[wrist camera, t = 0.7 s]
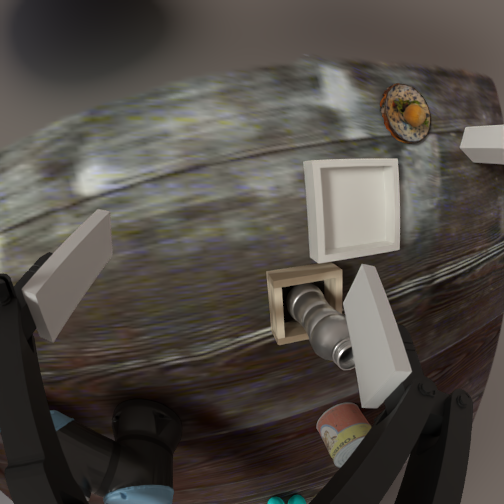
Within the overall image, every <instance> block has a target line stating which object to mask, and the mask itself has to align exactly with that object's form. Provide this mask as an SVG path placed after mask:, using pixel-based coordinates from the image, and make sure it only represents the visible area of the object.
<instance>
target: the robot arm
mask: <svg viewBox="0 0 504 504" xmlns="http://www.w3.org/2000/svg"><path fill="white" fill-rule="evenodd" d="M112 256H113V252H112V238H111V220H110V211H104V210H99V209H98V210H97V211H95V212H94V213H93V214H92V215H91V216H90V217H89V218H88V219H87V220H86V221H85V222H84V223H83V224H82V225H81V226H80V227H79V228H78V229H77V230H76V231H75V232H74V233H73V234H72V235H71V236H70V237H69V238H68V239H67V240H66V241H65V242H64V243H63V244H62V245H61V246H60V247H59V248H58V249H57V250H56V251H55V252H54V253H50V252H49V253H47V254H45V255H43V256H42V257H40V258H39V259H38V260H37V261H36V262H35V263H34V266H32V267H31V268H30V269H29V271H27V272H26V273H25V274H24V275H23V277H22V278H21V279H20V280H19V281H18V282H17V283H16V285H15V286H14V287H13V284H12V281H11V278H10V277H9V276H8V275H7V274H0V430H1V435H2V440H3V444H4V448H5V452H6V456H7V460H8V467H7V468H6V469H5V478H6V482H7V485H8V488H9V491H10V494H11V497H12V500H13V503H14V504H89V503H88V501H89V499H90V495H91V492H92V493H94V494H97V495H99V496H101V497H104V498H103V500H104V504H172V499H173V494H174V490H173V453H174V451H175V449H176V447H177V445H178V443H179V441H180V439H181V435H182V424H181V421H180V419H179V417H178V416H177V415H176V414H175V413H174V412H173V411H172V410H171V409H169V408H168V407H166V406H164V405H162V404H160V403H157V402H154V401H150V400H145V399H133V400H128V401H125V402H123V403H121V404H120V405H118V406H117V407H116V409H115V411H114V414H113V418H112V428H113V433H114V438H115V441H113V440H111V439H109V438H107V437H105V436H103V435H101V434H99V433H97V432H95V431H93V430H91V429H89V428H88V427H86V426H84V425H82V424H80V423H78V422H77V421H75V419H73V418H70V417H68V416H66V415H64V414H62V413H60V412H58V411H56V410H49V406H48V402H47V398H46V394H45V390H44V386H43V382H42V377H41V373H40V368H39V363H38V357H37V352H36V346H35V339H34V336H33V332H34V331H35V329H36V328H37V331H38V333H39V335H40V337H41V338H44V339H46V340H48V341H51V342H54V341H55V339H56V337H57V336H58V334H59V333H60V331H61V329H62V328H63V326H64V325H65V323H66V322H67V320H68V318H69V317H70V315H71V314H72V312H73V311H74V309H75V308H76V306H77V305H78V303H79V302H80V300H81V299H82V297H83V296H84V295H85V293H86V292H87V290H88V289H89V287H90V286H91V284H92V283H93V282H94V280H95V279H96V277H97V276H98V275H99V273H100V272H101V271H102V269H103V268H104V266H105V265H106V264H107V262H108V261H109V260H110V258H111V257H112ZM343 306H344V310H345V315H346V320H347V325H348V330H349V335H350V340H351V345H352V351H353V356H354V362H355V368H356V374H357V380H358V386H359V392H360V399H361V406H362V408H378V407H379V406H380V405H381V404H382V403H383V402H385V407H386V409H385V410H384V411H383V412H382V413H380V414H379V415H378V416H377V417H376V418H375V419H374V421H376V422H375V423H374V425H373V426H372V427H371V429H370V430H369V432H368V433H367V434H366V436H365V437H364V439H363V440H362V441H361V443H360V444H359V445H358V447H357V448H356V449H355V451H354V452H353V453H352V454H351V456H350V457H349V458H348V459H347V461H346V462H345V463H344V464H343V466H342V467H341V468H340V469H339V470H338V472H337V473H336V474H335V475H334V476H333V478H332V479H331V480H330V481H329V482H328V483H327V484H326V486H325V487H324V488H323V489H322V490H321V491H320V492H319V493H318V494H317V495H316V496H315V498H314V499H313V500H312V501H311V502H310V503H309V504H379V503H380V501H381V500H382V498H383V497H384V495H385V494H386V492H387V491H388V489H389V488H390V486H391V485H392V483H393V481H394V480H395V478H396V477H397V475H398V473H399V472H400V470H401V468H402V467H403V465H404V463H405V462H406V460H407V458H408V456H409V454H410V457H409V460H408V464H407V467H406V471H405V474H404V477H403V480H402V483H401V486H400V489H399V492H398V495H397V498H396V501H395V503H394V504H460V502H461V498H462V493H463V488H464V483H465V477H466V471H467V465H468V457H469V450H470V441H471V430H472V416H473V402H472V399H471V397H470V395H469V394H468V393H467V392H466V391H464V390H462V389H456V390H455V391H454V392H453V393H452V394H450V395H449V394H446V393H443V392H440V391H438V390H437V387H436V385H435V384H434V382H433V381H432V380H431V379H429V378H427V377H424V374H423V371H422V368H421V365H420V362H419V359H418V356H417V353H416V352H415V347H414V345H413V341H412V339H411V336H410V333H409V332H408V331H407V329H406V328H405V327H404V326H403V325H397V324H396V321H395V318H394V315H393V312H392V310H391V307H390V304H389V301H388V299H387V296H386V293H385V291H384V288H383V286H382V283H381V281H380V278H379V276H378V273H377V271H376V268H375V267H374V266H370V265H365V264H362V265H361V267H360V269H359V271H358V273H357V276H356V278H355V280H354V282H353V284H352V286H351V288H350V290H349V292H348V294H347V296H346V298H345V300H344V302H343Z"/></svg>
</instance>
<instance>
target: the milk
mask: <svg viewBox="0 0 504 504" xmlns="http://www.w3.org/2000/svg"><path fill="white" fill-rule="evenodd" d="M460 149H461V150H462V151H463V152H464V153H465V154H466V155H467V156H468V157H469V158H470V160H471V161H472V162H473V163H491V164H504V125H491V126H475V127H465V131H464V134H463V138H462V142H461V145H460Z"/></svg>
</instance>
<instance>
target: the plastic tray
mask: <svg viewBox="0 0 504 504" xmlns="http://www.w3.org/2000/svg"><path fill="white" fill-rule="evenodd" d="M303 164H304V176H305V188H306V201H307V215H308V230H309V248H310V258H312V259H313V260H314V261H316V262H317V263H318V264H319V263H326V262H332V261H338V260H344V259H350V258H356V257H362V256H367V255H373V254H379V253H385V252H390V251H396V250H400V193H399V172H398V159H332V160H311V161H303Z"/></svg>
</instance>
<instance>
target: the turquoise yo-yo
mask: <svg viewBox="0 0 504 504" xmlns="http://www.w3.org/2000/svg"><path fill="white" fill-rule="evenodd" d="M267 504H284V502H283V500H282V499H281V498H279V497H277V496H274V497H272V498H270V499H269V501H268V503H267ZM288 504H306V501H305V499H304V498H303V497H302V496H301V495H293V496H292V497H291V498H290V499H289V501H288Z"/></svg>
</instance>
